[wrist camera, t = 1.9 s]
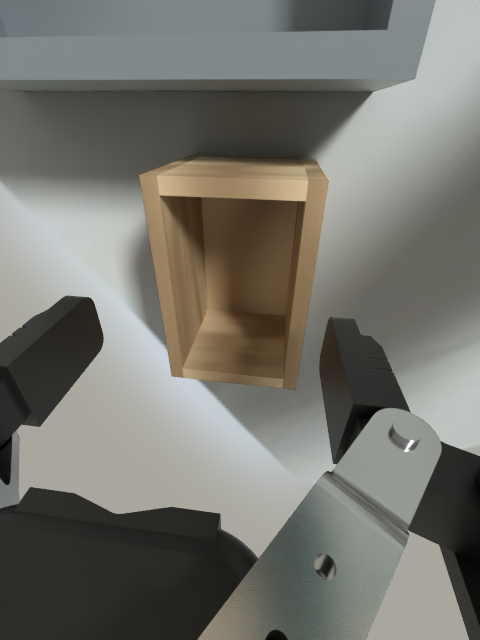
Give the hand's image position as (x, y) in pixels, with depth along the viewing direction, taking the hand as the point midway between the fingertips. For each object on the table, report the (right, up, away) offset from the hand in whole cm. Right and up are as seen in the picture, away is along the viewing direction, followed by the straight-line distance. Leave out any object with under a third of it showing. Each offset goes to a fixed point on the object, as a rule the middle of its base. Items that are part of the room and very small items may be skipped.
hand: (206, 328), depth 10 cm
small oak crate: (+2, +4, +7) cm, 8 cm away
